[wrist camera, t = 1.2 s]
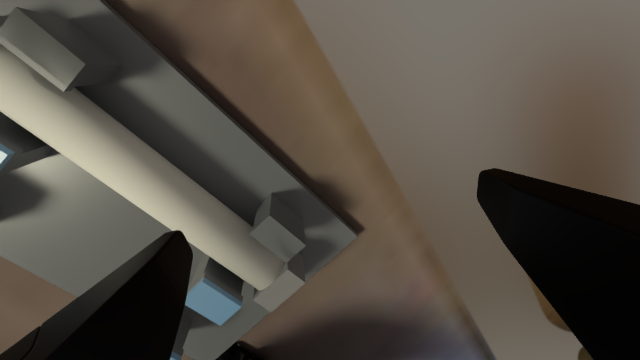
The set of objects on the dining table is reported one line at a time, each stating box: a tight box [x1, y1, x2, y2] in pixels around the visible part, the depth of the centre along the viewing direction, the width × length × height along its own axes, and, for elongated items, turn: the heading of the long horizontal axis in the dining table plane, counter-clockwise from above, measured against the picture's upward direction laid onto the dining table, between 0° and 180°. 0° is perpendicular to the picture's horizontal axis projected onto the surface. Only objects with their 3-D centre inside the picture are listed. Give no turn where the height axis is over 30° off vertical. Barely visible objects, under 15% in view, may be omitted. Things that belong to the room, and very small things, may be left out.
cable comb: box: [0, 0, 358, 360], centre depth 18 cm, size 17×25×4 cm
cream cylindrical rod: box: [0, 15, 305, 312], centre depth 17 cm, size 21×3×3 cm, turn 43°
